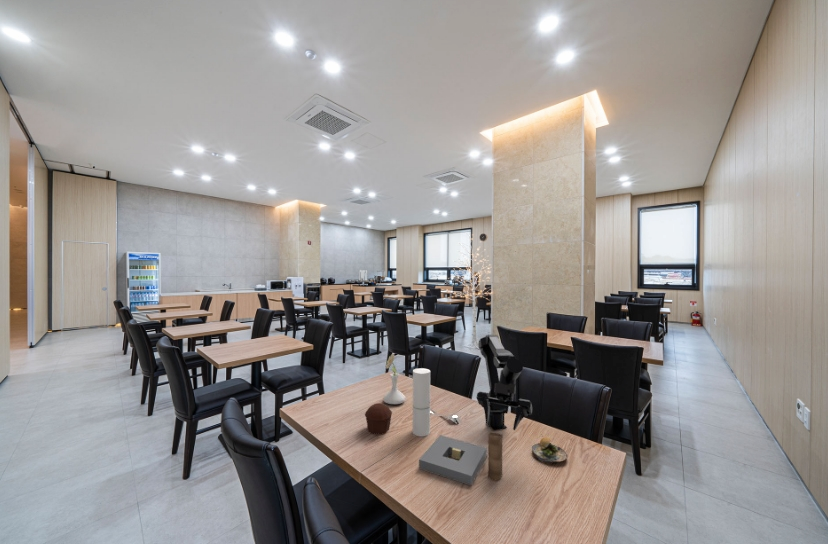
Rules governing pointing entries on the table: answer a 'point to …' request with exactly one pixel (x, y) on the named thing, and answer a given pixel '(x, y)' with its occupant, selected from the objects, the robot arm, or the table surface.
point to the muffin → (378, 418)
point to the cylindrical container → (421, 402)
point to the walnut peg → (495, 456)
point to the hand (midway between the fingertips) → (500, 426)
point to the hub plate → (450, 468)
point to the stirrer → (451, 417)
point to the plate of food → (548, 452)
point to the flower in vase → (393, 386)
